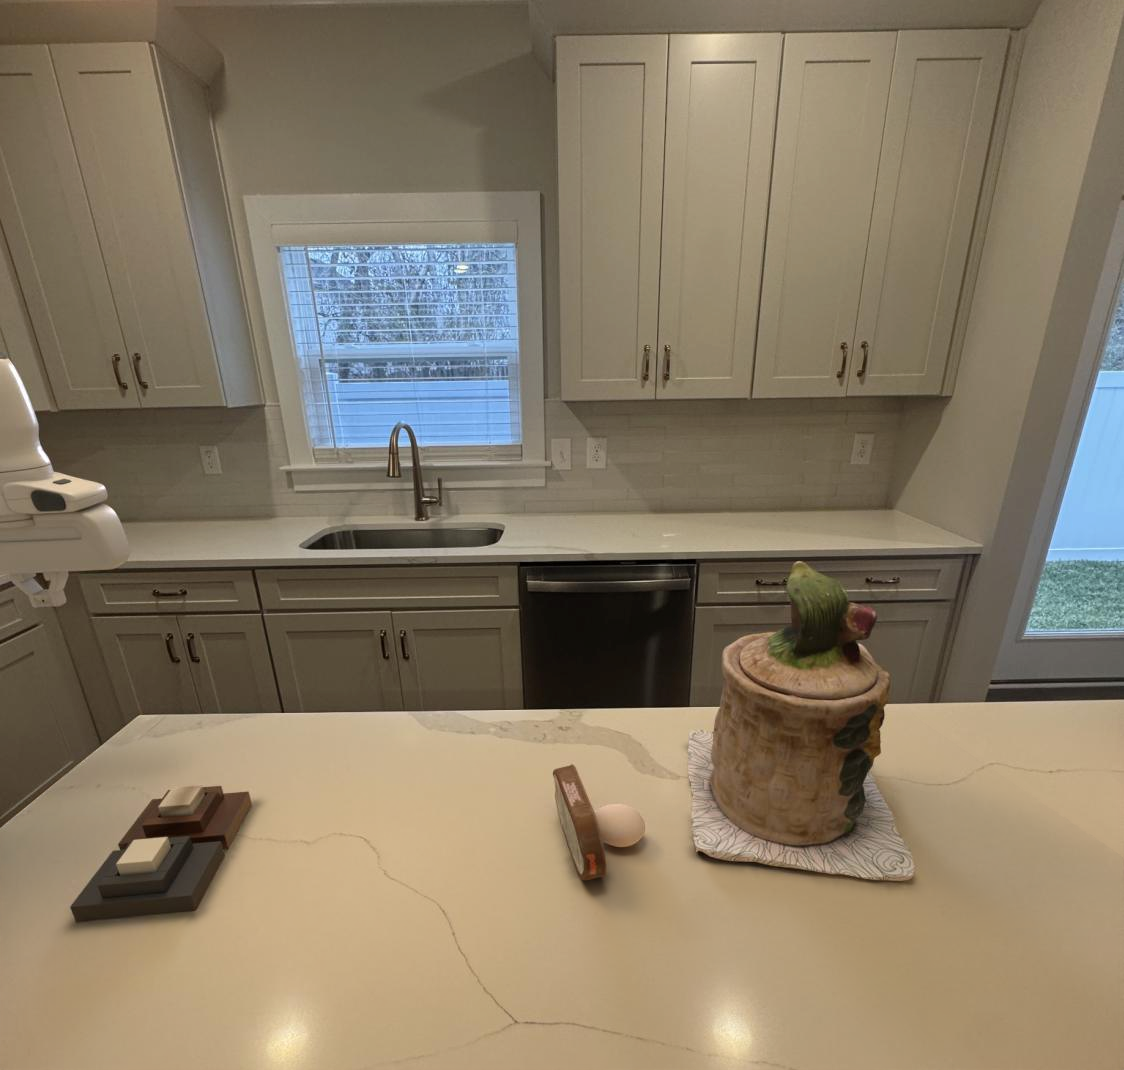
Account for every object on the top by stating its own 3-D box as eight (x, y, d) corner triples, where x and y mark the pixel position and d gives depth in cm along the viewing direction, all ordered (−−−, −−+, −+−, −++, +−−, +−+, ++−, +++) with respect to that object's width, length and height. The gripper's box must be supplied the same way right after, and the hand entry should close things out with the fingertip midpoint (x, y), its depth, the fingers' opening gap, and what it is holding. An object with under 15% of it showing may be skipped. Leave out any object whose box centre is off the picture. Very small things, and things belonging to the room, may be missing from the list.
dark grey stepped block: (75, 922, 65) (63, 894, 63) (118, 865, 72) (108, 838, 70) (195, 910, 66) (186, 882, 64) (225, 855, 73) (217, 828, 72)
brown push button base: (122, 858, 73) (113, 832, 71) (156, 812, 80) (148, 787, 79) (228, 849, 74) (221, 822, 73) (252, 804, 81) (245, 780, 80)
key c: (120, 876, 66) (115, 864, 65) (137, 851, 69) (133, 839, 68) (155, 873, 66) (151, 860, 65) (171, 848, 69) (167, 836, 69)
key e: (161, 818, 74) (157, 806, 73) (175, 798, 77) (172, 787, 77) (193, 816, 74) (189, 804, 74) (205, 796, 78) (202, 785, 77)
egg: (642, 859, 71) (585, 851, 73) (645, 833, 76) (592, 825, 77) (644, 823, 70) (586, 816, 71) (647, 799, 74) (593, 792, 76)
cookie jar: (690, 862, 71) (711, 606, 59) (685, 740, 93) (700, 537, 81) (920, 888, 67) (993, 619, 55) (858, 755, 90) (900, 543, 78)
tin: (608, 893, 67) (609, 832, 64) (580, 899, 66) (580, 838, 63) (574, 803, 81) (573, 750, 78) (550, 807, 80) (549, 753, 77)
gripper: (-114, 502, 67) (-64, 620, 72) (88, 495, 69) (123, 610, 74) (-66, 491, 72) (-22, 600, 78) (119, 485, 74) (149, 591, 80)
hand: (50, 605), depth 76 cm, fingers closed
